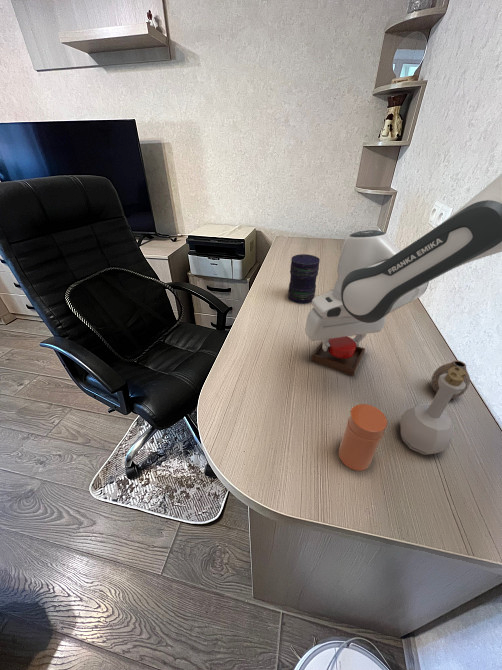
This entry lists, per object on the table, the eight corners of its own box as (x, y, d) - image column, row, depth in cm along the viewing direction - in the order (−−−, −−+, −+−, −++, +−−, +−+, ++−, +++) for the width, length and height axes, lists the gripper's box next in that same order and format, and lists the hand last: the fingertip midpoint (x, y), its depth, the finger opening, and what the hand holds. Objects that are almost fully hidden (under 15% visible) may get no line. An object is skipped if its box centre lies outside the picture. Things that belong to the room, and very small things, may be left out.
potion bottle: (449, 437, 55) (495, 370, 45) (436, 469, 50) (485, 401, 39) (403, 413, 60) (435, 347, 50) (387, 439, 55) (419, 372, 44)
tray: (363, 354, 76) (365, 348, 75) (353, 376, 69) (355, 370, 68) (324, 341, 81) (325, 335, 80) (311, 360, 74) (312, 354, 73)
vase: (422, 380, 68) (436, 352, 63) (452, 382, 67) (468, 355, 62) (433, 401, 63) (449, 373, 58) (466, 404, 62) (485, 376, 57)
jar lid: (322, 351, 73) (323, 343, 72) (334, 339, 77) (336, 331, 76) (347, 362, 69) (349, 354, 68) (358, 349, 74) (360, 341, 72)
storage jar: (319, 301, 102) (325, 262, 93) (295, 306, 99) (299, 265, 90) (306, 290, 109) (310, 252, 101) (283, 294, 107) (286, 256, 98)
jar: (374, 451, 53) (391, 413, 46) (365, 477, 49) (383, 438, 42) (344, 437, 55) (356, 398, 49) (333, 459, 51) (345, 421, 45)
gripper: (382, 291, 70) (368, 335, 78) (305, 299, 66) (300, 345, 74) (398, 303, 65) (382, 349, 73) (316, 312, 61) (309, 360, 69)
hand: (340, 347), depth 73 cm, fingers closed on jar lid, 7 cm apart
